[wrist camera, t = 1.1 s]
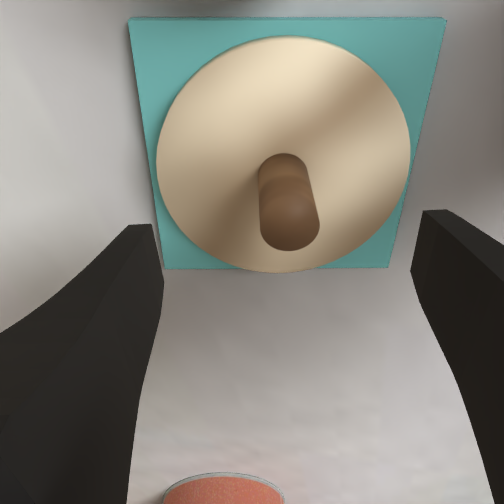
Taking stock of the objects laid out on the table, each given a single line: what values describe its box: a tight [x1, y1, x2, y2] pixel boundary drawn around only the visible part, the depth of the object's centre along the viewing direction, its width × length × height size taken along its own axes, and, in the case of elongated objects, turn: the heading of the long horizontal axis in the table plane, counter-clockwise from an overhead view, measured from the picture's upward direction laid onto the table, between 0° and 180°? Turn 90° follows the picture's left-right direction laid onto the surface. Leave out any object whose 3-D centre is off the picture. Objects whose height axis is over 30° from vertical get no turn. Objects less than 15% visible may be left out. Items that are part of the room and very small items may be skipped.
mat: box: [128, 17, 447, 269], centre depth 21 cm, size 12×12×1 cm
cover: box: [156, 35, 410, 273], centre depth 18 cm, size 11×11×5 cm
